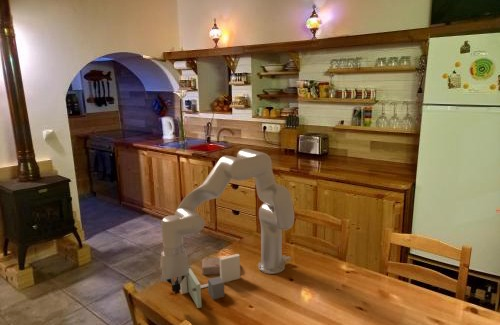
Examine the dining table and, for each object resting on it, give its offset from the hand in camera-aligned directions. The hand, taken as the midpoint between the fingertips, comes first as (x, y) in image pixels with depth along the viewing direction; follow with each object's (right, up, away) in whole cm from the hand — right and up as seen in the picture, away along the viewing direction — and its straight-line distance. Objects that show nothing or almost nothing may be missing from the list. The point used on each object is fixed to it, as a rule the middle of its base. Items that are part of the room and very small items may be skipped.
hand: (176, 292), depth 139 cm
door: (+5, -5, +6) cm, 9 cm away
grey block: (+15, -4, +9) cm, 18 cm away
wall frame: (+12, -3, +17) cm, 21 cm away
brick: (+14, 0, +29) cm, 33 cm away
